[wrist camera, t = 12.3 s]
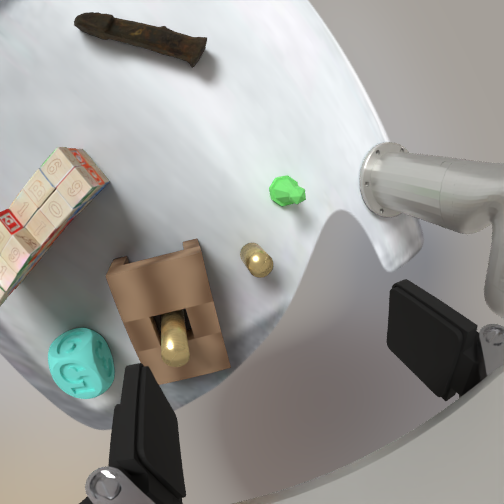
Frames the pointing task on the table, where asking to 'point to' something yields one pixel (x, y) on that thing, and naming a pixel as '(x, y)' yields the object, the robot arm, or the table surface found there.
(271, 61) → the table surface
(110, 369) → the decorative dice
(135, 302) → the bridge board
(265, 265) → the short pin
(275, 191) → the game piece
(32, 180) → the stack of blocks
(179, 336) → the tall pin
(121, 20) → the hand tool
